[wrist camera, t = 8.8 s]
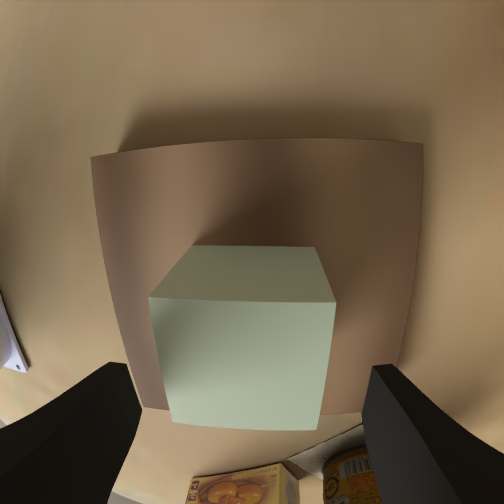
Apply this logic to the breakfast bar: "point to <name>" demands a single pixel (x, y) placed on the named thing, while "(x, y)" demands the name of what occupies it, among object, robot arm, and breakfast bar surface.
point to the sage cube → (244, 336)
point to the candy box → (246, 487)
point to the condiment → (342, 469)
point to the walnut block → (269, 236)
